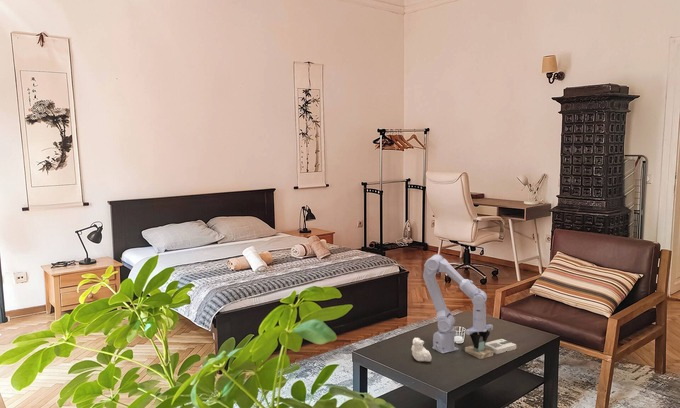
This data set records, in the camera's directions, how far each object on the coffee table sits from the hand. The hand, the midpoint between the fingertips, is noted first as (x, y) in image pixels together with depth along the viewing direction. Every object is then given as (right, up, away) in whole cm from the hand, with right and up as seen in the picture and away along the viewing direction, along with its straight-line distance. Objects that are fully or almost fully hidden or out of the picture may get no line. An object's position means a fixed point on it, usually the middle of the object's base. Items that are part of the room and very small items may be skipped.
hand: (479, 347), depth 238 cm
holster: (0, -3, 0) cm, 3 cm away
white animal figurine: (-28, -4, -5) cm, 28 cm away
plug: (0, -3, 0) cm, 3 cm away
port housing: (+11, -2, +6) cm, 13 cm away
